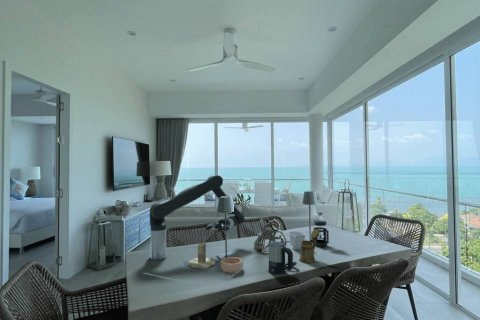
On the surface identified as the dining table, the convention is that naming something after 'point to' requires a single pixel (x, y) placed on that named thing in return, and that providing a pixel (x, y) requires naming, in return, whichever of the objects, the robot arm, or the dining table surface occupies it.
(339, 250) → the dining table surface
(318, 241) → the french press
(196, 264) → the oak lid
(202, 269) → the grey flat slab
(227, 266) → the terracotta bowl
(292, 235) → the teacup
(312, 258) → the wooden mug
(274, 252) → the milk frother
